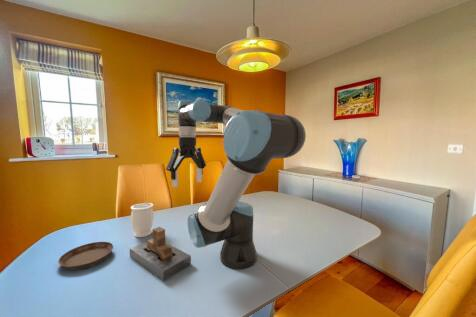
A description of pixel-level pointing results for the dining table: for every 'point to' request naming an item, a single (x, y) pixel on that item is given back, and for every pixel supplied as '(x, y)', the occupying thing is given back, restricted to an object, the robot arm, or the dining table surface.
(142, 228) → the jar
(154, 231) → the brown wooden branched block
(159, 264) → the grey slotted base block
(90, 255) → the plant saucer
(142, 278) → the dining table surface
